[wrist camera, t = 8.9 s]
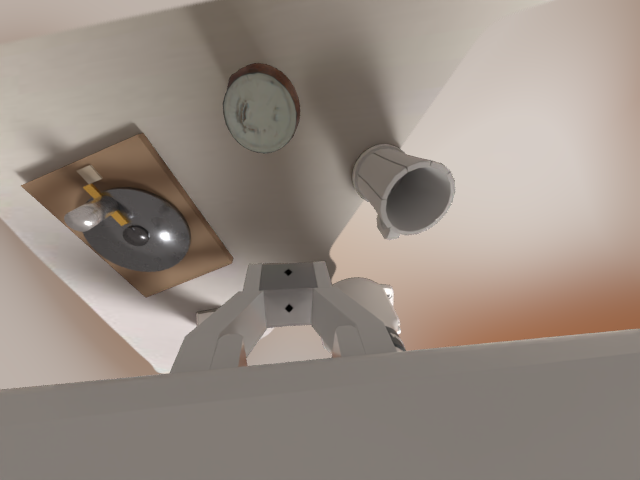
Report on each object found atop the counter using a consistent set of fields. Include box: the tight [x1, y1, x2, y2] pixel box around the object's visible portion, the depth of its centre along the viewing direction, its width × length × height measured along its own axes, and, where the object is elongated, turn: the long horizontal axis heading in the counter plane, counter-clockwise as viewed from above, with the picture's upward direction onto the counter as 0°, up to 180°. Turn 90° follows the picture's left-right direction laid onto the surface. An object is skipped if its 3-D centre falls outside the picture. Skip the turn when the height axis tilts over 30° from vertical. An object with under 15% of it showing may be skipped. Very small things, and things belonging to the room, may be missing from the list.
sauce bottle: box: [223, 63, 300, 153], centre depth 21 cm, size 6×6×20 cm
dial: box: [64, 183, 191, 272], centre depth 30 cm, size 14×13×6 cm
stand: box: [21, 133, 233, 297], centre depth 34 cm, size 21×16×2 cm
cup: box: [352, 144, 455, 240], centre depth 32 cm, size 10×9×12 cm
